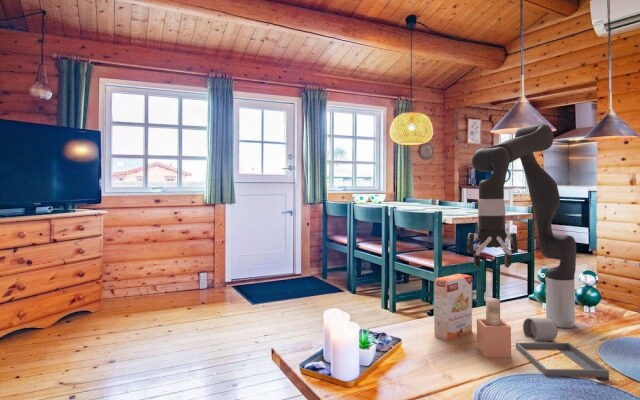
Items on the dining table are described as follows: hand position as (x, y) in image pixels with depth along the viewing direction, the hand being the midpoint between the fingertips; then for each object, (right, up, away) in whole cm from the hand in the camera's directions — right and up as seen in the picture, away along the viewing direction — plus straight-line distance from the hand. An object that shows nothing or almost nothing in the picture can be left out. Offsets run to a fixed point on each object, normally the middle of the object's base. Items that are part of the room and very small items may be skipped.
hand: (492, 267), depth 125 cm
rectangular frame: (+16, -27, -7) cm, 32 cm away
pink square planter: (+1, -27, 0) cm, 27 cm away
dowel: (+1, -26, 0) cm, 26 cm away
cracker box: (-6, -27, +17) cm, 33 cm away
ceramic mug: (+21, -27, +13) cm, 36 cm away
